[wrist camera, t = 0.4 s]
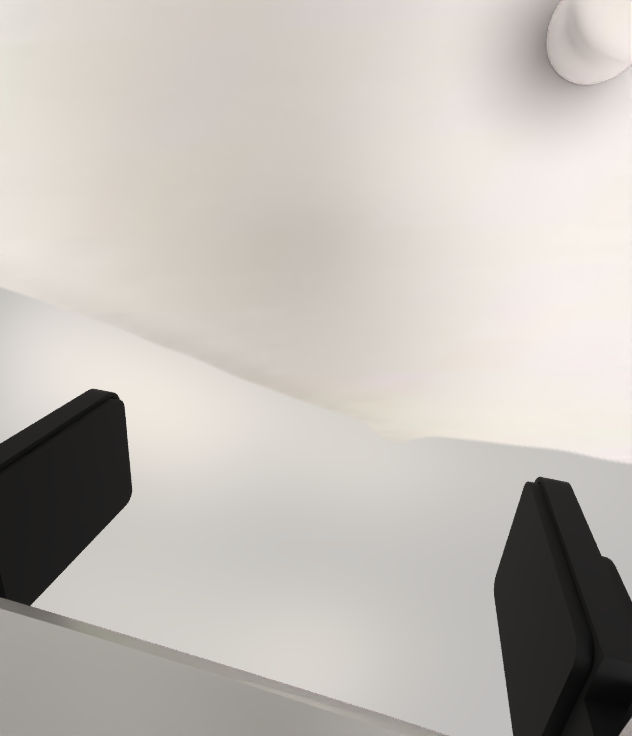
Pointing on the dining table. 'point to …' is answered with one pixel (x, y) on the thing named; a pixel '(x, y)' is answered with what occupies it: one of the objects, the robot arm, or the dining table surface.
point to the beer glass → (590, 39)
